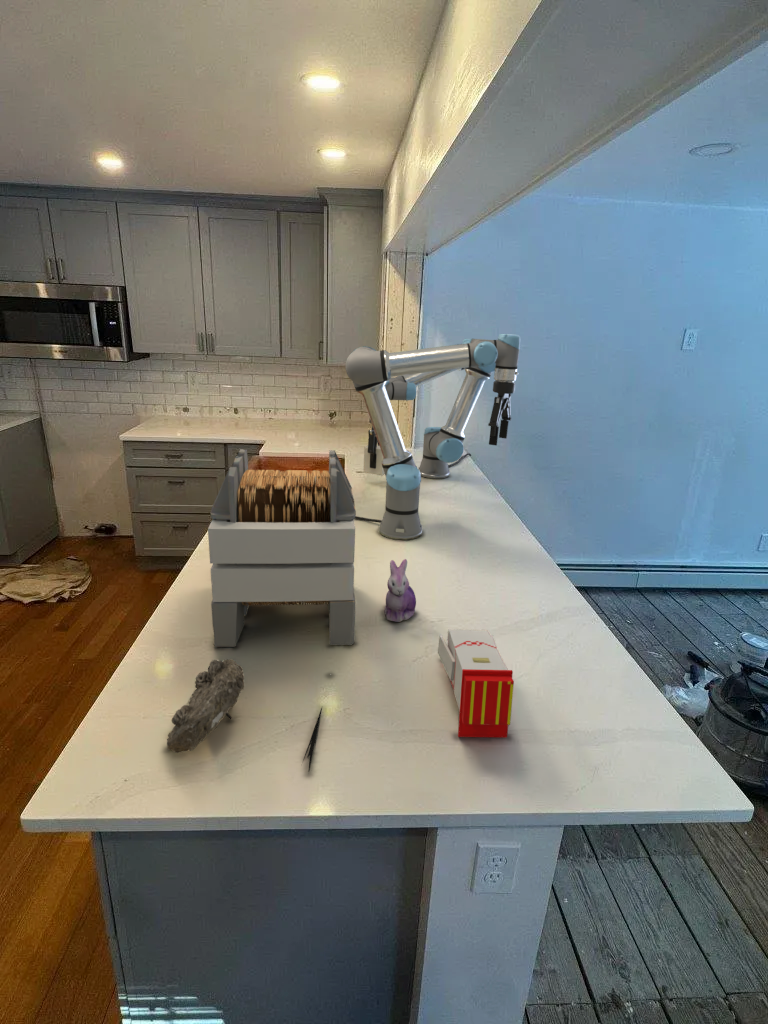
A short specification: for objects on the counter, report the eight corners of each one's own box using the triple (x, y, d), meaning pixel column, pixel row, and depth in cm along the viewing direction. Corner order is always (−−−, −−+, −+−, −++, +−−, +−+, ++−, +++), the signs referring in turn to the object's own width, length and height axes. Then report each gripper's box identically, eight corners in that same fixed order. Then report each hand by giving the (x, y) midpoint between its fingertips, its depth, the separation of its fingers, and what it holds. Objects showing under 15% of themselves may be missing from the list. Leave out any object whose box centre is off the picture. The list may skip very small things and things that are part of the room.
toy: (488, 613, 130) (523, 677, 101) (484, 667, 133) (517, 744, 104) (435, 612, 130) (455, 676, 101) (432, 666, 133) (451, 743, 103)
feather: (331, 679, 122) (336, 673, 122) (307, 777, 96) (313, 769, 95) (324, 675, 122) (329, 669, 121) (298, 772, 95) (304, 764, 95)
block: (363, 472, 251) (364, 446, 247) (369, 469, 256) (370, 444, 252) (381, 475, 247) (383, 449, 243) (387, 472, 252) (389, 447, 248)
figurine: (392, 627, 141) (395, 572, 136) (374, 608, 149) (376, 556, 144) (425, 619, 145) (429, 566, 140) (405, 601, 154) (408, 550, 149)
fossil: (192, 660, 117) (244, 628, 112) (224, 691, 120) (276, 661, 115) (142, 746, 98) (202, 712, 93) (182, 779, 101) (242, 748, 96)
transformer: (232, 581, 160) (225, 440, 147) (348, 580, 164) (351, 442, 150) (211, 649, 129) (199, 477, 115) (355, 646, 132) (360, 479, 119)
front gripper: (506, 385, 184) (499, 449, 191) (523, 378, 205) (516, 436, 212) (484, 383, 187) (477, 446, 194) (503, 376, 208) (496, 434, 215)
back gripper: (376, 418, 233) (374, 472, 241) (395, 412, 249) (392, 463, 257) (360, 416, 236) (358, 469, 244) (380, 410, 252) (378, 460, 260)
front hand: (497, 441), depth 203 cm, fingers open, 13 cm apart
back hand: (376, 466), depth 250 cm, fingers closed on block, 6 cm apart
